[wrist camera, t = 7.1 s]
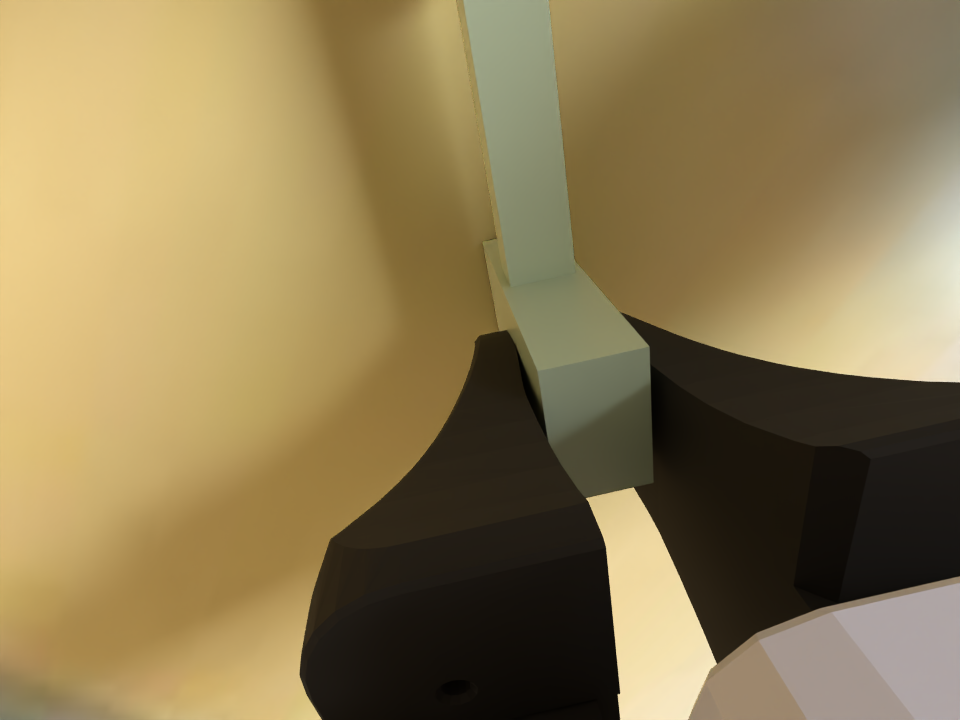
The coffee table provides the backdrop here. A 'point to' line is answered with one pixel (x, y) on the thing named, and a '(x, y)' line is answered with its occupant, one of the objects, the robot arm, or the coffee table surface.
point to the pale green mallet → (551, 259)
